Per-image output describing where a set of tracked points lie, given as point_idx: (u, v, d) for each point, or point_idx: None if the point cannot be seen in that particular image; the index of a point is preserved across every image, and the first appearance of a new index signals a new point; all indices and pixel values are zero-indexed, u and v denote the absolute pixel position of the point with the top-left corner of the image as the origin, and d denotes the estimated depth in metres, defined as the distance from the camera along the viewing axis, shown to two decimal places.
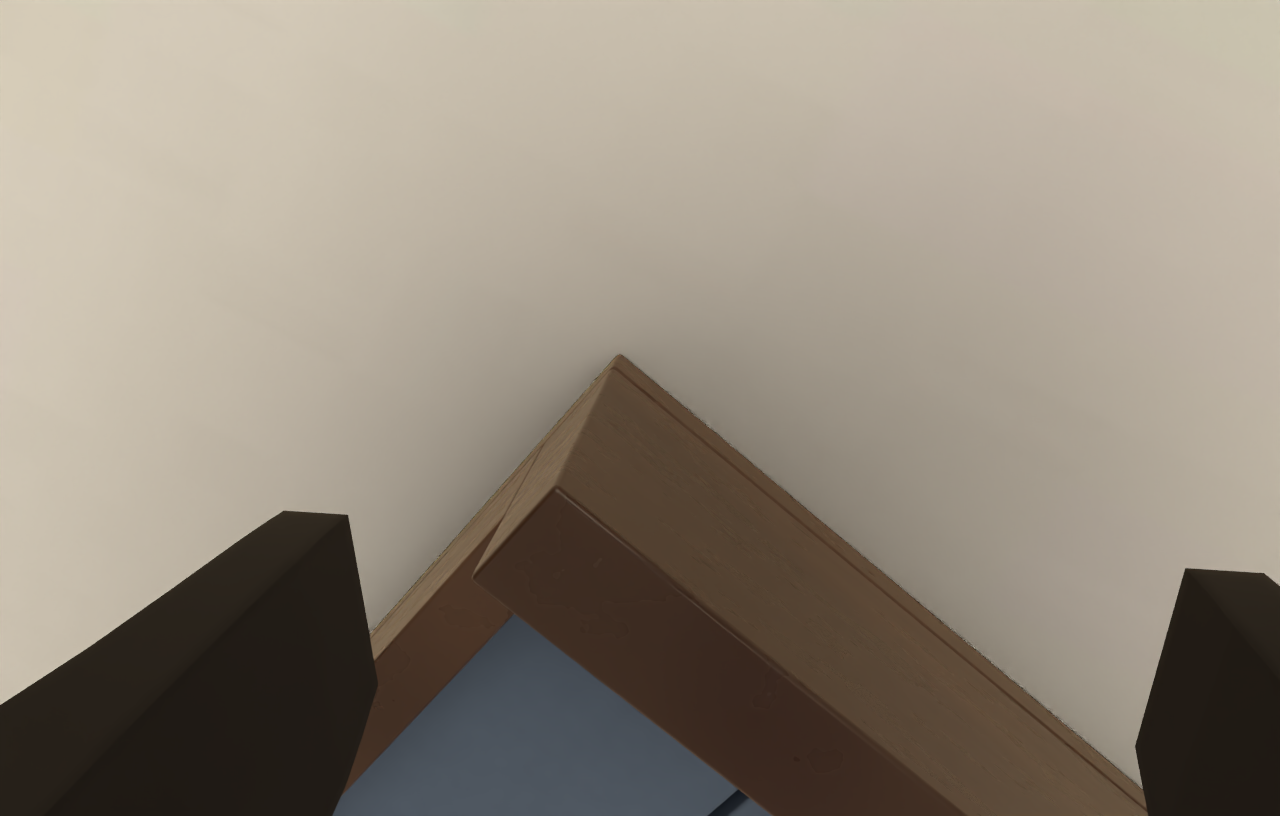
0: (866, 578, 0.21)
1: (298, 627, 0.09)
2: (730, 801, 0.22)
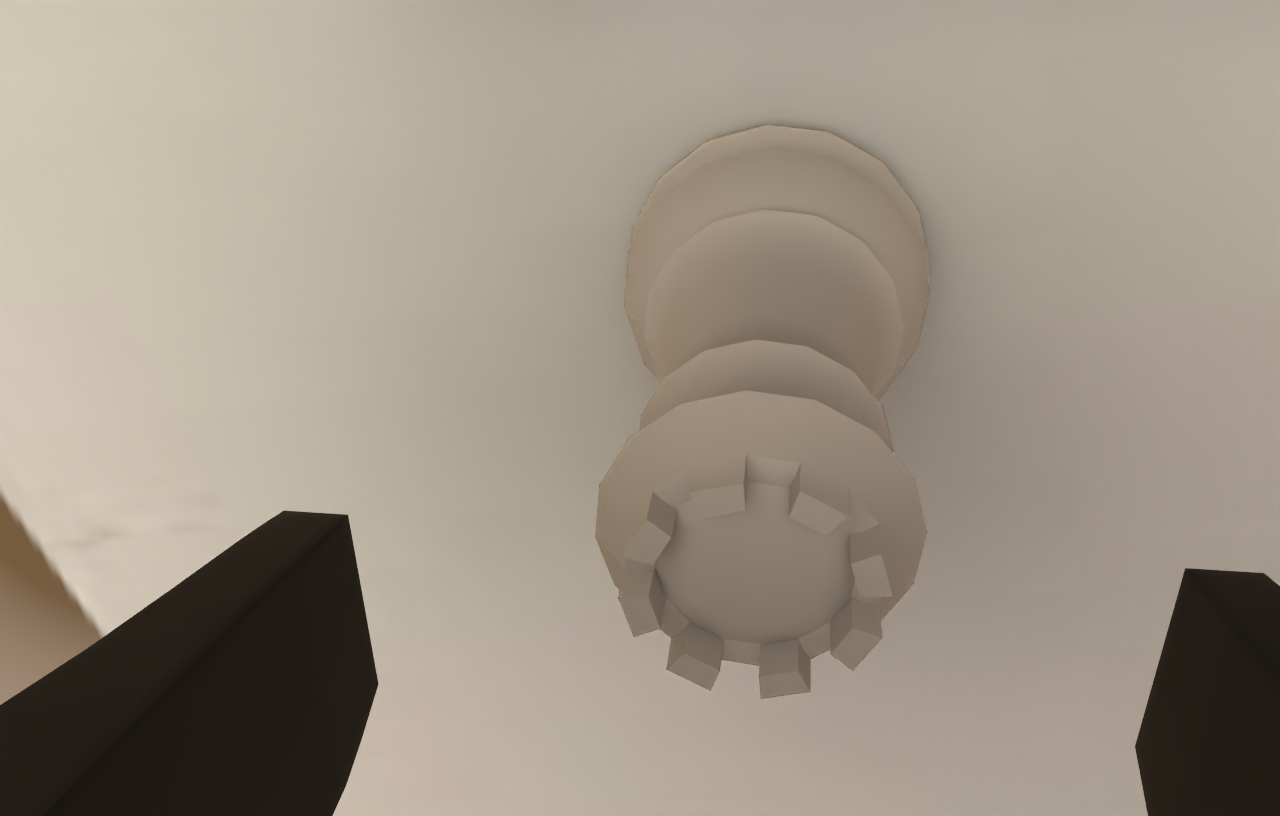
0: None
1: (298, 626, 0.09)
2: None
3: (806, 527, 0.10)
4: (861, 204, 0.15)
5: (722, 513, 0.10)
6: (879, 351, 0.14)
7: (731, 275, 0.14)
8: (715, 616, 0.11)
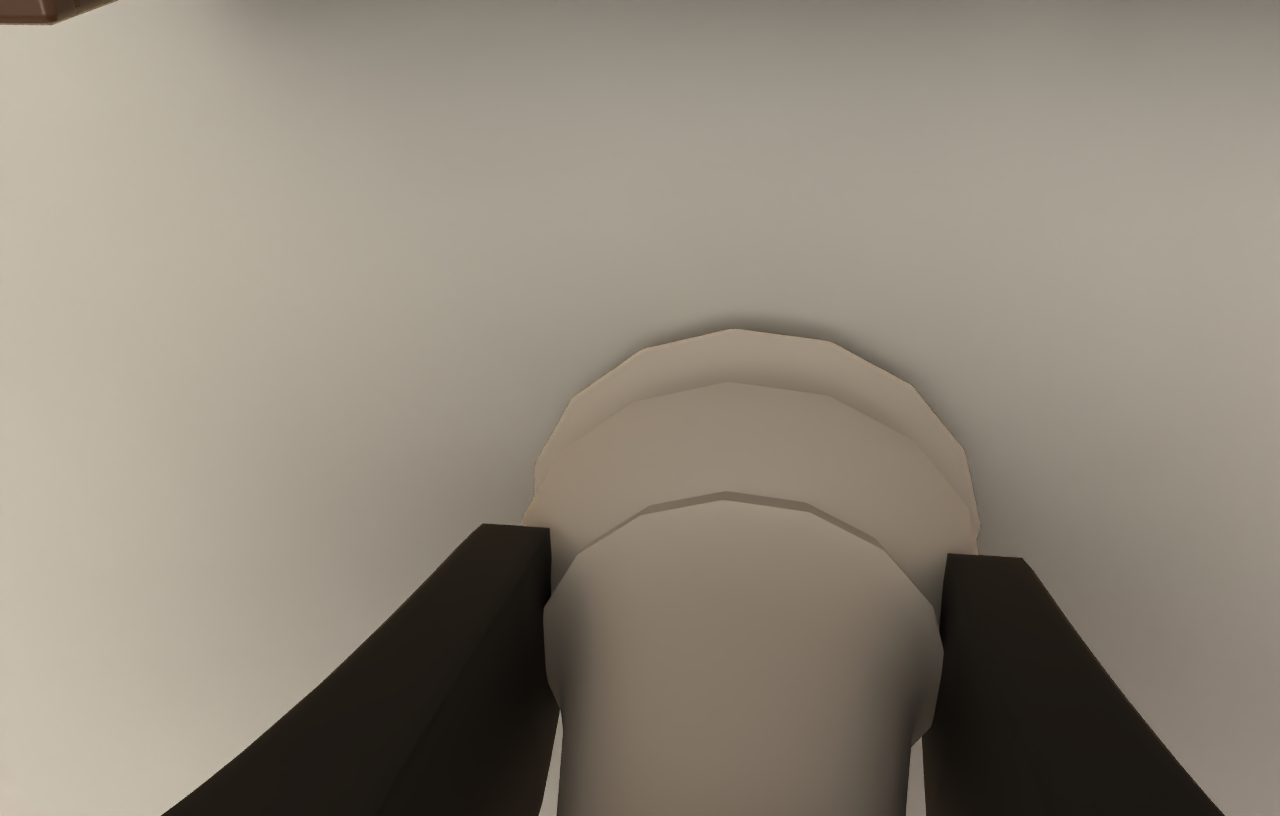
0: None
1: (519, 643, 0.09)
2: None
3: None
4: (880, 478, 0.09)
5: None
6: (909, 735, 0.09)
7: (664, 631, 0.08)
8: None
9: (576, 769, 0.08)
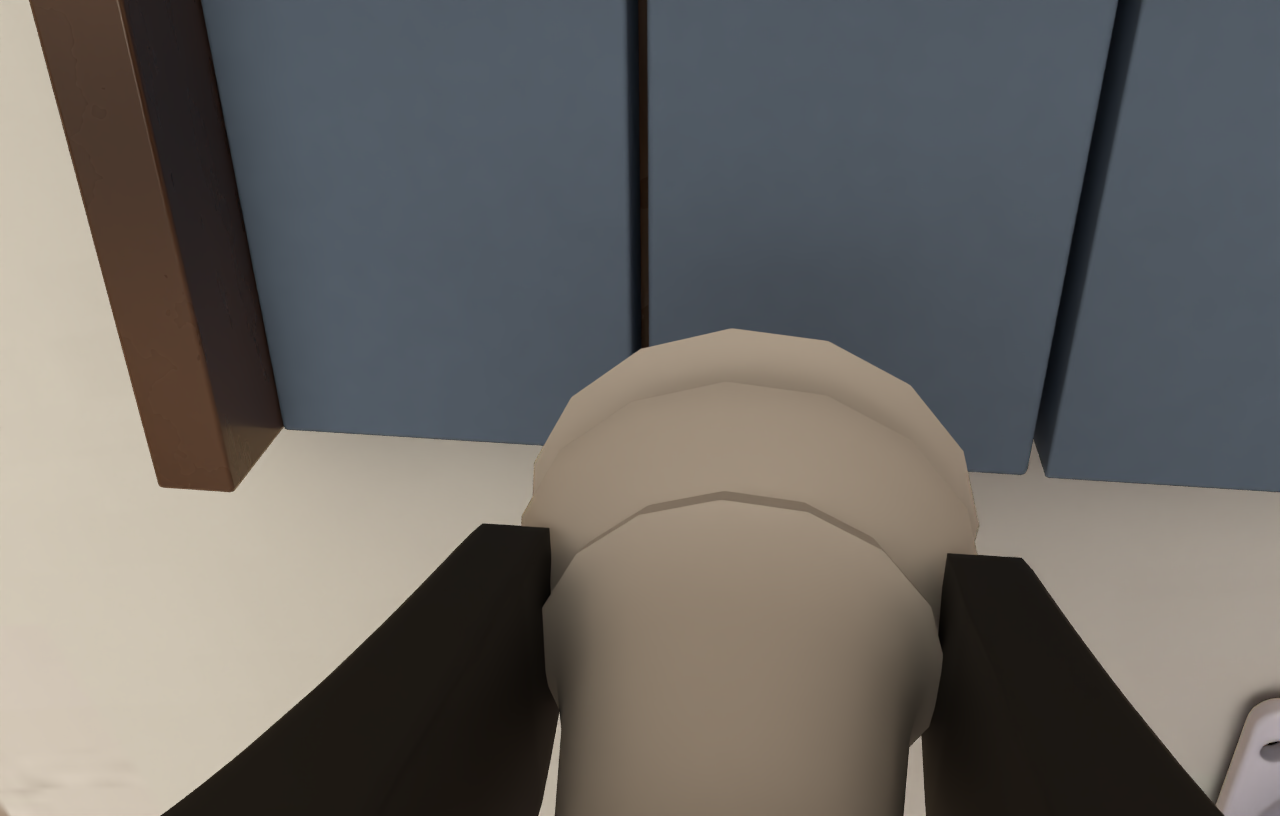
0: None
1: (519, 643, 0.09)
2: None
3: None
4: (878, 478, 0.09)
5: None
6: (909, 735, 0.09)
7: (662, 629, 0.08)
8: None
9: (574, 769, 0.08)
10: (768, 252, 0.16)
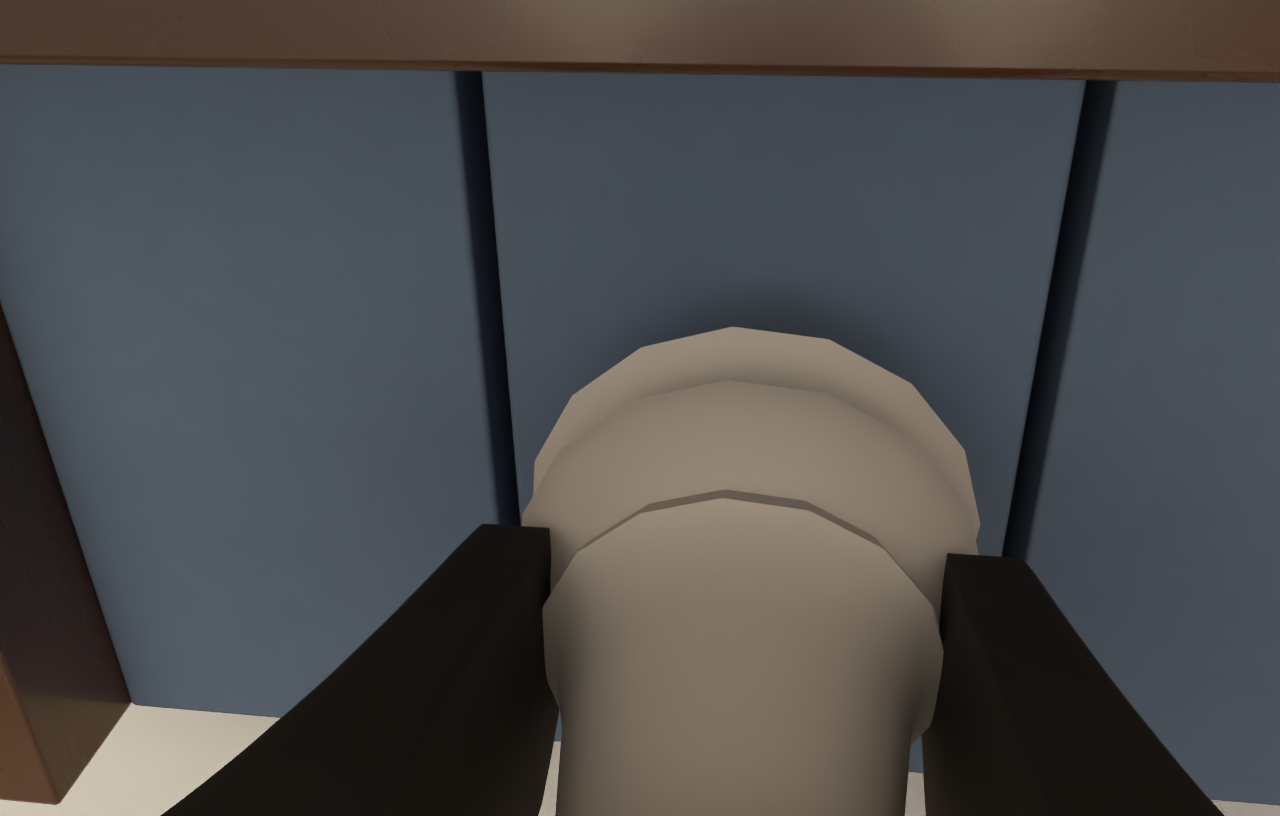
0: None
1: (519, 643, 0.09)
2: None
3: None
4: (880, 476, 0.09)
5: None
6: (910, 733, 0.09)
7: (663, 628, 0.08)
8: None
9: (575, 767, 0.08)
10: None
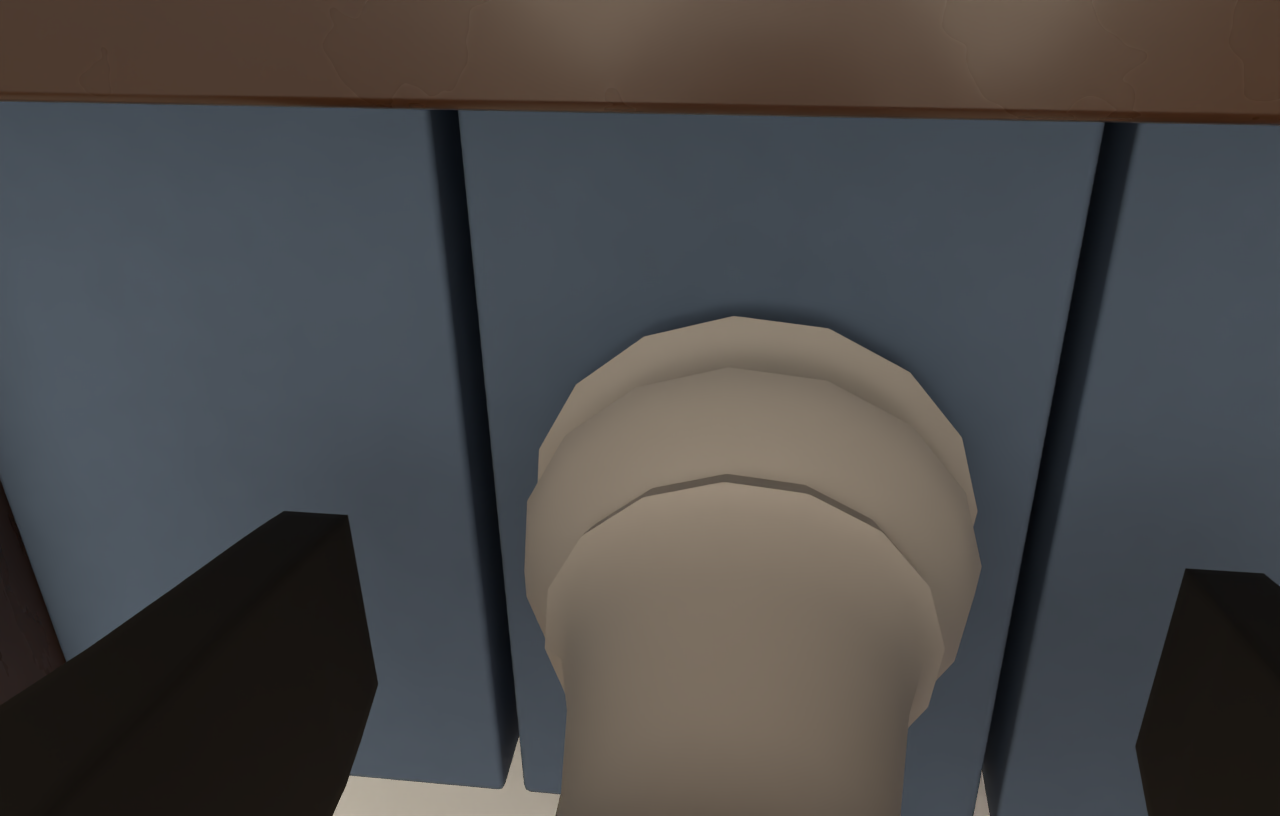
0: None
1: (298, 627, 0.09)
2: None
3: None
4: (878, 461, 0.09)
5: None
6: (907, 712, 0.09)
7: (666, 607, 0.08)
8: None
9: (580, 743, 0.08)
10: None
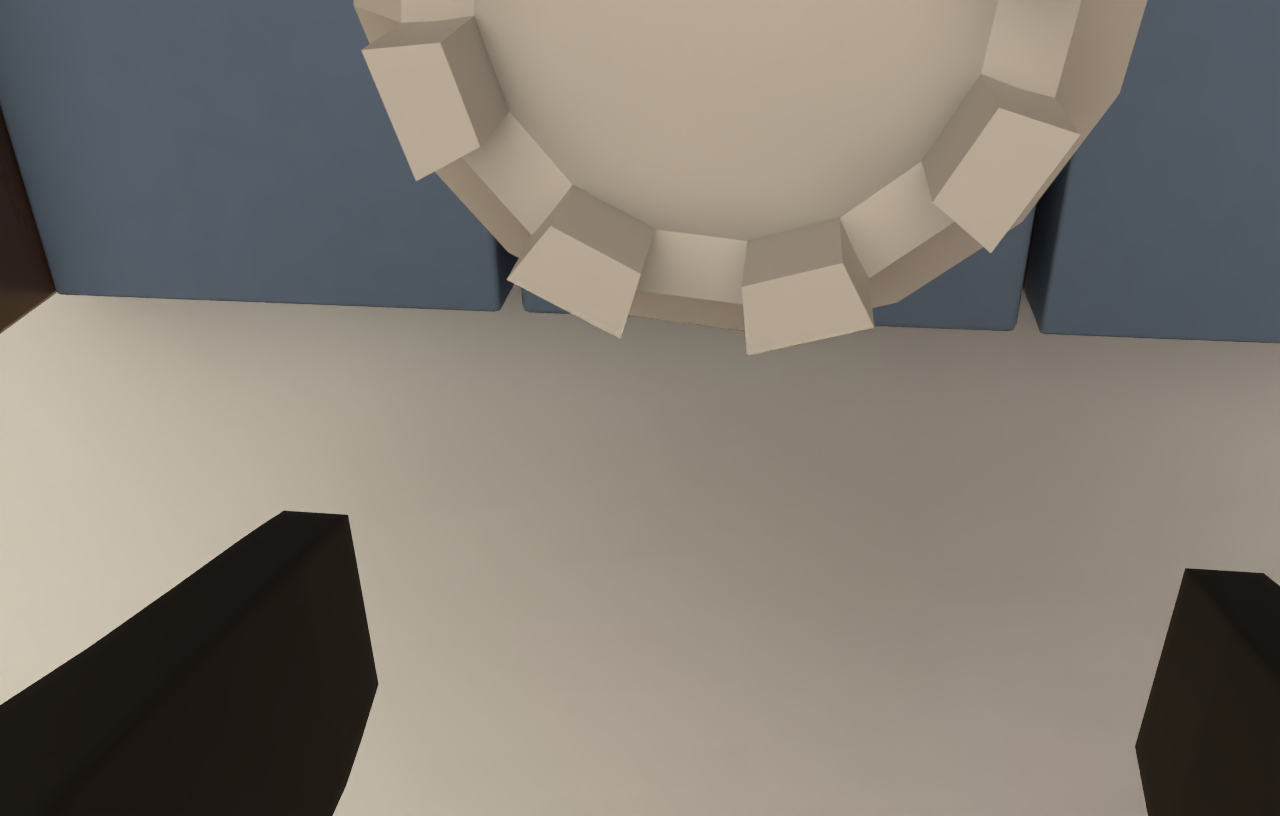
0: None
1: (298, 626, 0.09)
2: None
3: None
4: None
5: None
6: None
7: None
8: (632, 145, 0.04)
9: None
10: None
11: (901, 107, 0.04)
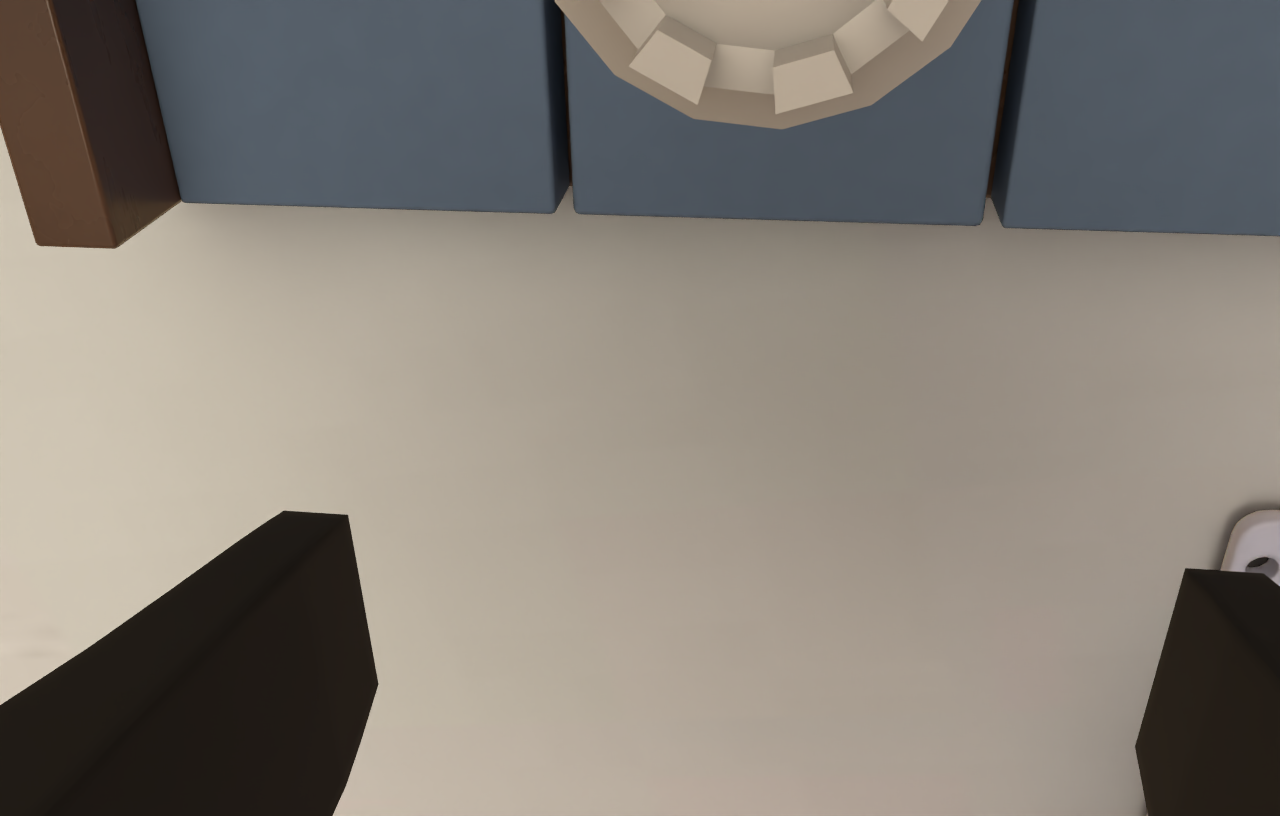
0: None
1: (298, 626, 0.09)
2: None
3: None
4: None
5: None
6: None
7: None
8: None
9: None
10: None
11: None
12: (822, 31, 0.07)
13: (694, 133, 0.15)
